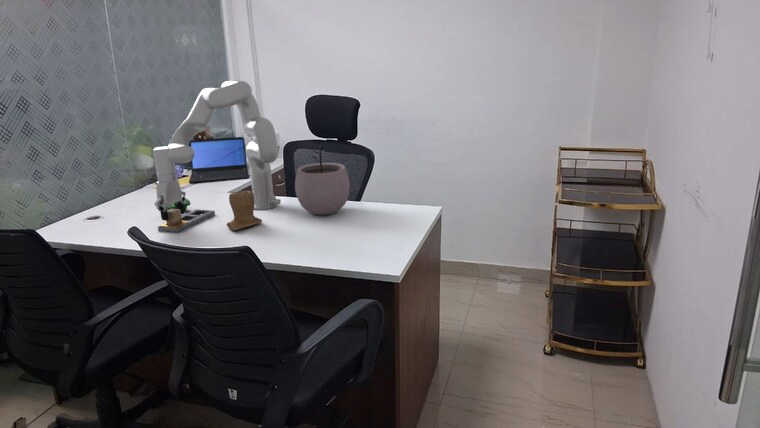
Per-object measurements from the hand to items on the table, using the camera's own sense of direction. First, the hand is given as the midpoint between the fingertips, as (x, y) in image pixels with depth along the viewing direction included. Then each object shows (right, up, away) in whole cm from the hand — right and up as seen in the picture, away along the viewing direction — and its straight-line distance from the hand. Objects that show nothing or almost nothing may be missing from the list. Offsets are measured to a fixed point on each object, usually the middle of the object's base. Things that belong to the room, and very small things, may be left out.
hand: (173, 216), depth 227 cm
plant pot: (+62, +1, +15) cm, 64 cm away
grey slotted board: (+3, -3, +9) cm, 10 cm away
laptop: (-9, +24, +98) cm, 101 cm away
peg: (0, -5, +2) cm, 5 cm away
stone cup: (+29, -4, +1) cm, 29 cm away
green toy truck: (-7, +1, +24) cm, 25 cm away
